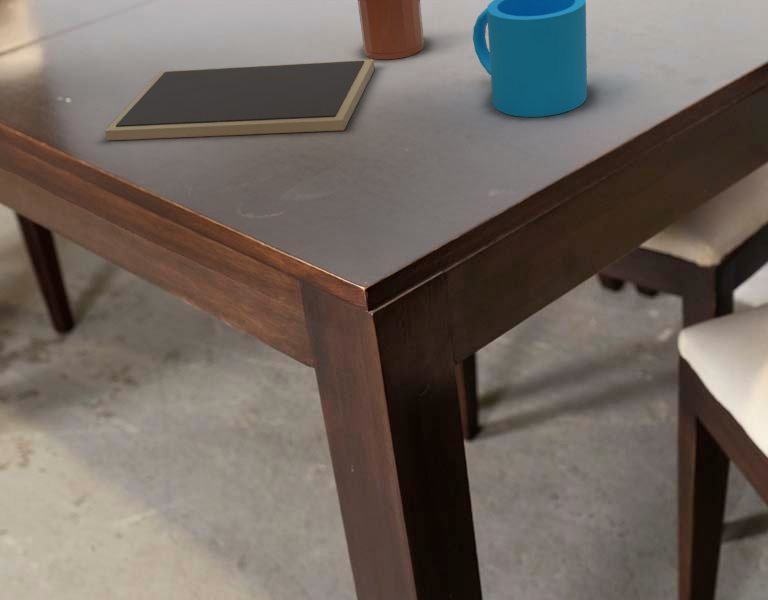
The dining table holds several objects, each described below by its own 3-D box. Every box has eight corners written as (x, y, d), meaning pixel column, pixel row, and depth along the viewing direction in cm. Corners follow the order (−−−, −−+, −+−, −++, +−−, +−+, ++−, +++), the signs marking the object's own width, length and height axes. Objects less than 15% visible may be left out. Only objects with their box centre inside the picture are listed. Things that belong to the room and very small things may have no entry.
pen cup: (359, 61, 110) (348, -22, 105) (370, 41, 114) (360, -39, 110) (419, 57, 108) (411, -26, 104) (427, 37, 113) (420, -43, 109)
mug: (607, 94, 95) (607, -2, 90) (539, 124, 91) (535, 26, 87) (511, 67, 103) (506, -23, 99) (444, 93, 100) (436, 2, 95)
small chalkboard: (107, 140, 100) (104, 128, 99) (162, 80, 112) (159, 69, 111) (344, 130, 95) (342, 117, 95) (375, 69, 107) (373, 57, 107)
